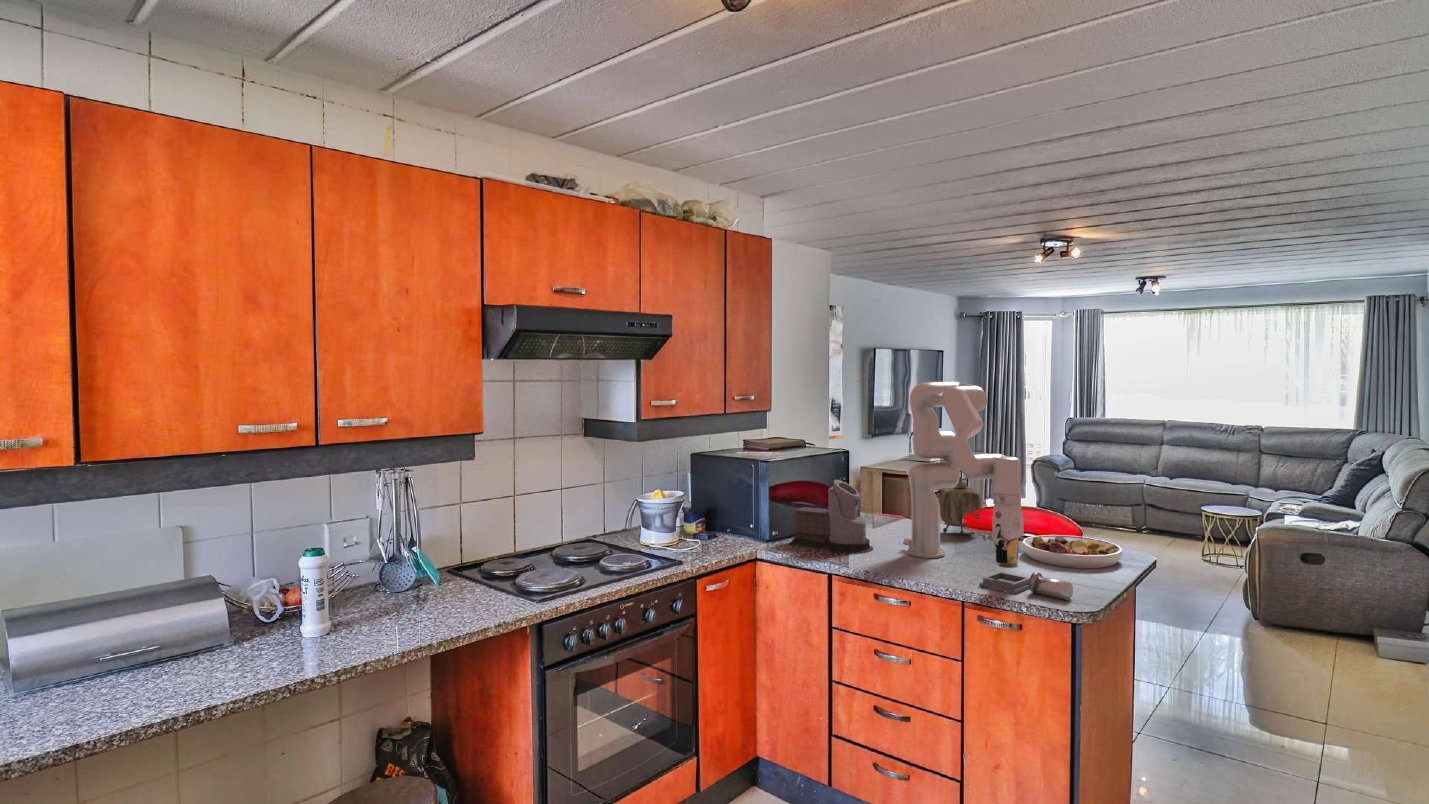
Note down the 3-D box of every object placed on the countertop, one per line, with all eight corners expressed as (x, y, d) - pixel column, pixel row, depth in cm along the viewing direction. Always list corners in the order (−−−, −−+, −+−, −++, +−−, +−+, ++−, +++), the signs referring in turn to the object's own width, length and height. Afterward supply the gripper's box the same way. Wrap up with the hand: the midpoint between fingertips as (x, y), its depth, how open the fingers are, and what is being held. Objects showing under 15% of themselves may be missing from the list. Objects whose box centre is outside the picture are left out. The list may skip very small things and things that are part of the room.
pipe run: (1028, 594, 209) (1028, 573, 209) (1038, 590, 213) (1038, 570, 213) (1064, 602, 201) (1064, 581, 201) (1073, 597, 205) (1073, 577, 205)
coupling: (993, 565, 217) (993, 537, 217) (1003, 562, 221) (1003, 535, 220) (1011, 568, 213) (1011, 540, 212) (1021, 565, 216) (1021, 537, 216)
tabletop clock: (976, 531, 291) (976, 468, 290) (983, 536, 282) (983, 471, 281) (939, 531, 292) (939, 468, 291) (944, 536, 283) (944, 471, 282)
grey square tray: (979, 586, 218) (979, 577, 218) (998, 578, 225) (998, 570, 225) (1015, 594, 209) (1015, 585, 209) (1034, 586, 216) (1034, 578, 216)
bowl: (1040, 544, 269) (1041, 523, 269) (1133, 558, 249) (1133, 535, 248) (1008, 560, 247) (1008, 537, 247) (1106, 576, 227) (1106, 551, 227)
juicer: (879, 546, 269) (879, 479, 268) (863, 556, 255) (862, 485, 254) (804, 537, 285) (804, 474, 284) (785, 546, 272) (785, 479, 271)
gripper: (1004, 504, 208) (1004, 568, 208) (1033, 497, 219) (1033, 558, 219) (979, 501, 213) (979, 563, 214) (1009, 494, 224) (1009, 553, 225)
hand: (1007, 560), depth 217 cm, fingers closed on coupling, 5 cm apart
